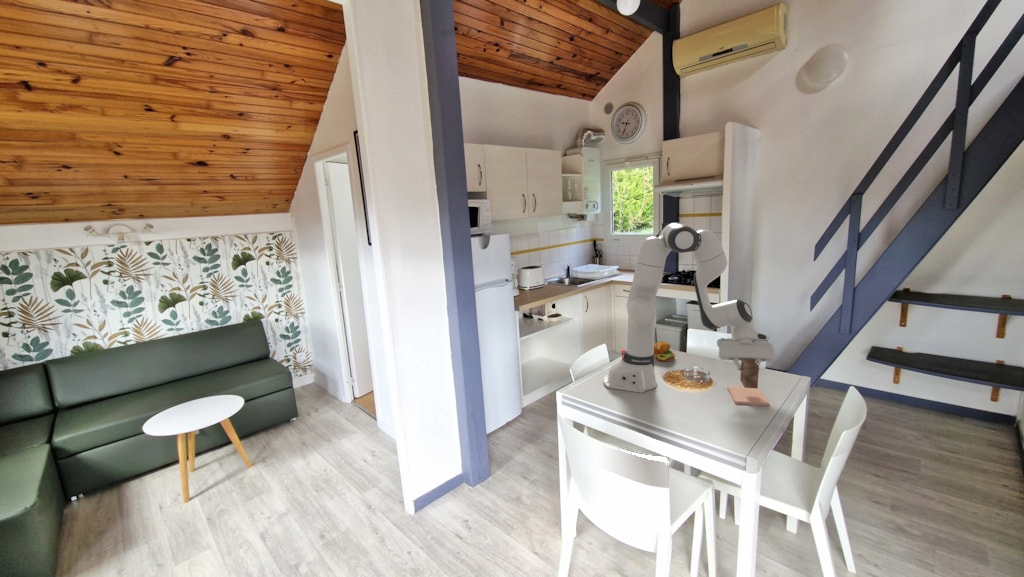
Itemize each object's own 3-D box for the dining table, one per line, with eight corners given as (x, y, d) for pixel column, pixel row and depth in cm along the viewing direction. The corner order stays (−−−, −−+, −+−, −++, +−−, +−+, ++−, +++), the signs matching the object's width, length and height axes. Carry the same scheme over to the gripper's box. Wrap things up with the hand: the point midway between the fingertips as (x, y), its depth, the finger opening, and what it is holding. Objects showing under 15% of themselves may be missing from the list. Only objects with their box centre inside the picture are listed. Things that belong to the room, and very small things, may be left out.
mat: (734, 403, 167) (735, 401, 167) (727, 388, 180) (727, 385, 180) (769, 406, 164) (769, 403, 164) (759, 390, 177) (759, 387, 177)
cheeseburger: (679, 361, 210) (675, 343, 208) (658, 367, 210) (654, 349, 208) (671, 353, 220) (667, 336, 218) (650, 360, 220) (646, 342, 218)
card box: (744, 387, 168) (745, 366, 167) (740, 380, 175) (741, 359, 173) (757, 388, 167) (758, 366, 165) (752, 380, 174) (754, 359, 172)
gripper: (717, 334, 179) (721, 365, 171) (773, 336, 173) (779, 368, 166) (715, 341, 184) (718, 371, 177) (769, 343, 178) (775, 374, 171)
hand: (748, 370), depth 171 cm, fingers closed on card box, 4 cm apart
